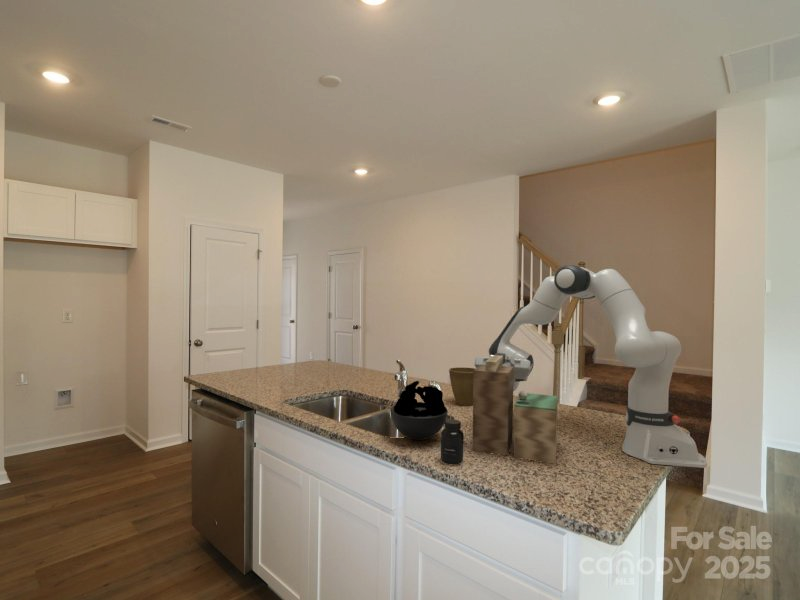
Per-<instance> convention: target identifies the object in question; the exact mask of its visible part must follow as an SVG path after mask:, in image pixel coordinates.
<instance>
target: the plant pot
mask: <svg viewBox="0 0 800 600" xmlns="http://www.w3.org/2000/svg"><path fill="white" fill-rule="evenodd" d="M475 369H476V367H475V368H474V367H459V366H458V367H451V368H449V369H448V372H449V380H450V385H451V390H452V393H453V394H452V395H453V397H454V400H455V402H456V405H458V406H462V407H463V406H464V407H469V406H473V370H475Z"/></svg>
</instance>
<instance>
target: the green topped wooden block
mask: <svg viewBox="0 0 800 600" xmlns="http://www.w3.org/2000/svg"><path fill="white" fill-rule="evenodd" d="M557 446H558V395H550V394H539V393H538V394H537V393H529V392H526V391H525V390H521V391H519V392H518V397H517V399H516V401H515V403H514V406H513V458H514V457H516V458H515V459H518V458H523V459H522V460H524V459H530V460H529V461H531V460H536V461H535V462H538V461H543V462H542V463H544V462H549V463H548V464H551V463H554V464H553V465H556V463H557V461H556V459H557Z"/></svg>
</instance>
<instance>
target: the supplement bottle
mask: <svg viewBox="0 0 800 600" xmlns="http://www.w3.org/2000/svg"><path fill="white" fill-rule="evenodd" d="M443 427H444V428H442V429H441V430H442V431H441V433H440V460H441V462H442V463H443V462H444V463H443V464H445V463H446V465H449V464H458V465H460V464H459V463H461V462H462V463H463V461H464V446H465V445H464V441H465V440H464V439H465V436H464V434H465V433H464V432H463V431H462V429H461V428H462V427H461V420H458V419H450V418H449V419H446V420H445V424H444V426H443ZM462 463H461V464H462Z"/></svg>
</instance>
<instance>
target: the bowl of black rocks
mask: <svg viewBox="0 0 800 600" xmlns="http://www.w3.org/2000/svg"><path fill="white" fill-rule="evenodd" d="M419 384H420V381H419V380H415V381H412V382H411V383H409V384H407V385H406V386H405V387H404V390H403V391H402V392H401V393H400V395H399V397H398V399H397V400H396V403H395V404H394V405H393V406H391V408H390V410H389V411H390V417H391V420H392V423H393V425H394V427H395V428H396V429H397V431H398V432H399V433H401V434H402V435H403V436H405V437H406V438H409V439H411V440H412V439H413V440H419V441H420V440H421V441H422V440H426V439H430V438H432V437H434V436H436V434H438V433H439V432H440V431H441V430H443V427H444V425H445V420H447V419H448V418H447V417H448V408H447V407H446V406H445V403H444V400H443V396H444V394H443V391H442V390H440V389H438V387H436V386H434V387H433V386H432V385H431V386H430V385H429V386H428V385H424V386H423V387H421V386H418V385H419ZM417 395H419V397H420V399H421V400H422V401H418V399H417V398H416V397H417Z"/></svg>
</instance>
